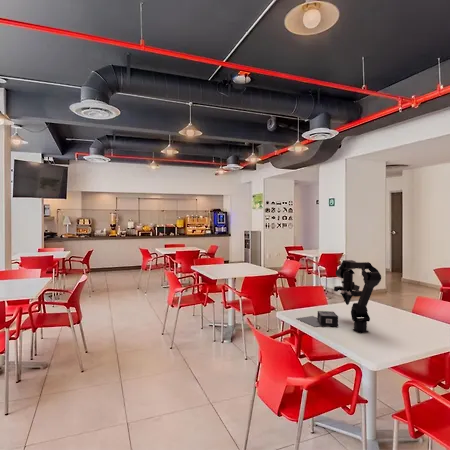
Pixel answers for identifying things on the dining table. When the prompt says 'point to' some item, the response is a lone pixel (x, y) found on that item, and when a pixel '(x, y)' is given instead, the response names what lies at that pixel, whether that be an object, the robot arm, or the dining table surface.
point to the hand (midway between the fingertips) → (347, 304)
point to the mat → (310, 321)
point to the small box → (327, 318)
